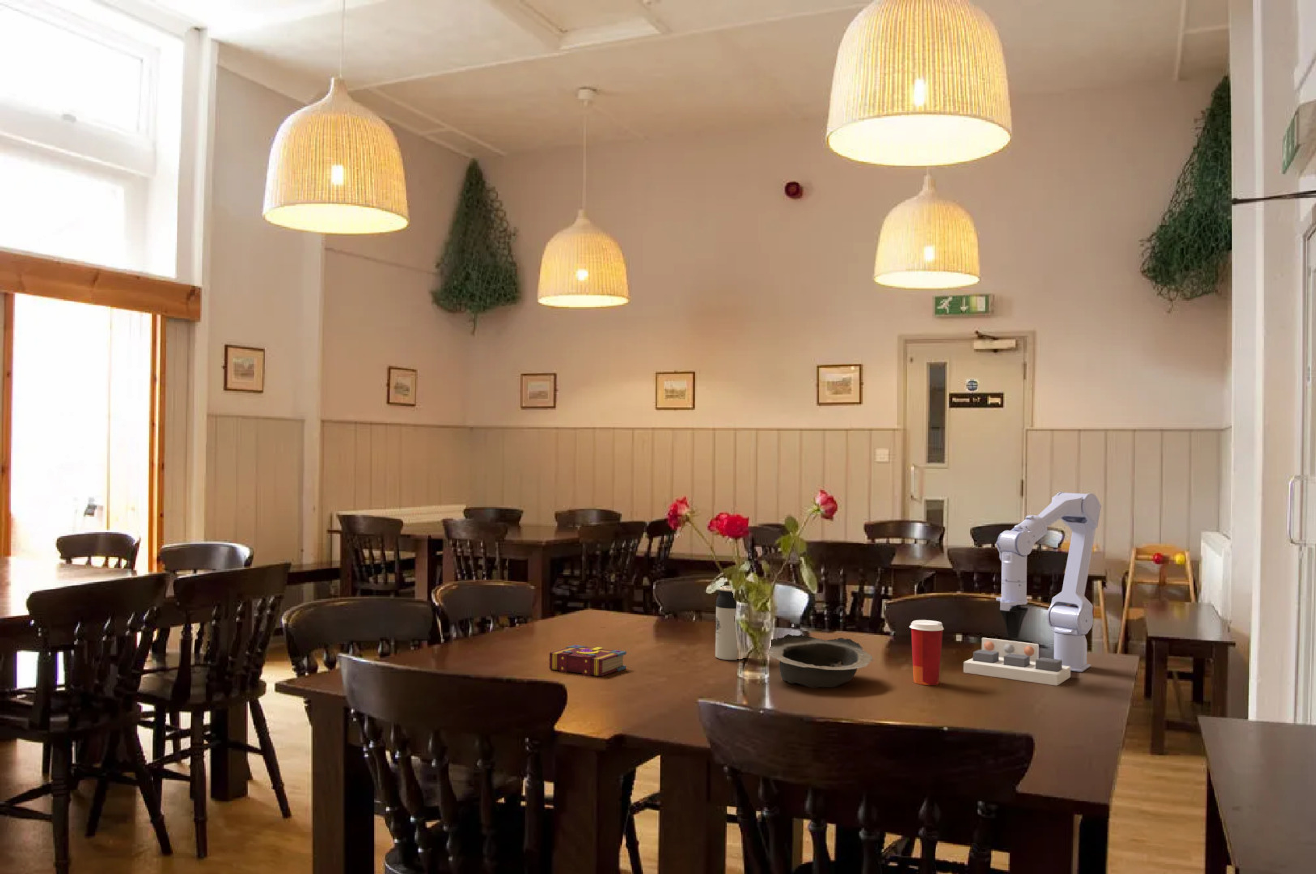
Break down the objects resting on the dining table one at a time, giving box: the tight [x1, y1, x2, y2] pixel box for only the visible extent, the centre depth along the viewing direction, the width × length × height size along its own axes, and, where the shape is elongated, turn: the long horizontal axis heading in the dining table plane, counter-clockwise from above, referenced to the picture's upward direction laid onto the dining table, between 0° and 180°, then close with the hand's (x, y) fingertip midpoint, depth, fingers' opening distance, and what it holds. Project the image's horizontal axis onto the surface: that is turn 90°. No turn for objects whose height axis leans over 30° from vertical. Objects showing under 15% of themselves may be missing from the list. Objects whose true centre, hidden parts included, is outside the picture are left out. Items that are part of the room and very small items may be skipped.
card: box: [981, 637, 1040, 662], centre depth 260 cm, size 1×14×6 cm, turn 54°
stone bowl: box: [766, 633, 874, 689], centre depth 237 cm, size 25×25×9 cm
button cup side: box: [1036, 657, 1062, 672], centre depth 244 cm, size 5×5×3 cm
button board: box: [963, 657, 1072, 687], centre depth 248 cm, size 12×22×2 cm, turn 54°
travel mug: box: [714, 585, 738, 661], centre depth 263 cm, size 8×8×18 cm
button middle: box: [1004, 653, 1030, 668], centre depth 248 cm, size 5×5×3 cm
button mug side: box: [972, 649, 999, 663], centre depth 253 cm, size 5×5×3 cm
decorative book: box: [548, 644, 627, 677], centre depth 246 cm, size 11×16×5 cm
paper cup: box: [909, 619, 945, 686], centre depth 238 cm, size 8×8×14 cm
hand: (1013, 637), depth 246 cm, fingers closed
